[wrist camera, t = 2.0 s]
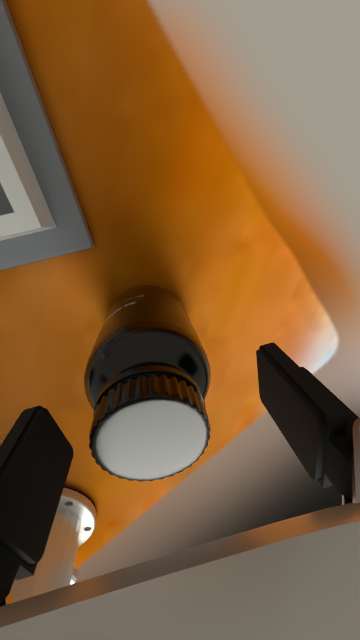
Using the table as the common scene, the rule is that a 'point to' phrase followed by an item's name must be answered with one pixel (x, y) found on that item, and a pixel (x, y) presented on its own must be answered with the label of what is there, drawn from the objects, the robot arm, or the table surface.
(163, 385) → the supplement bottle
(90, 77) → the table surface
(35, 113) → the rimmed tray
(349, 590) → the robot arm
